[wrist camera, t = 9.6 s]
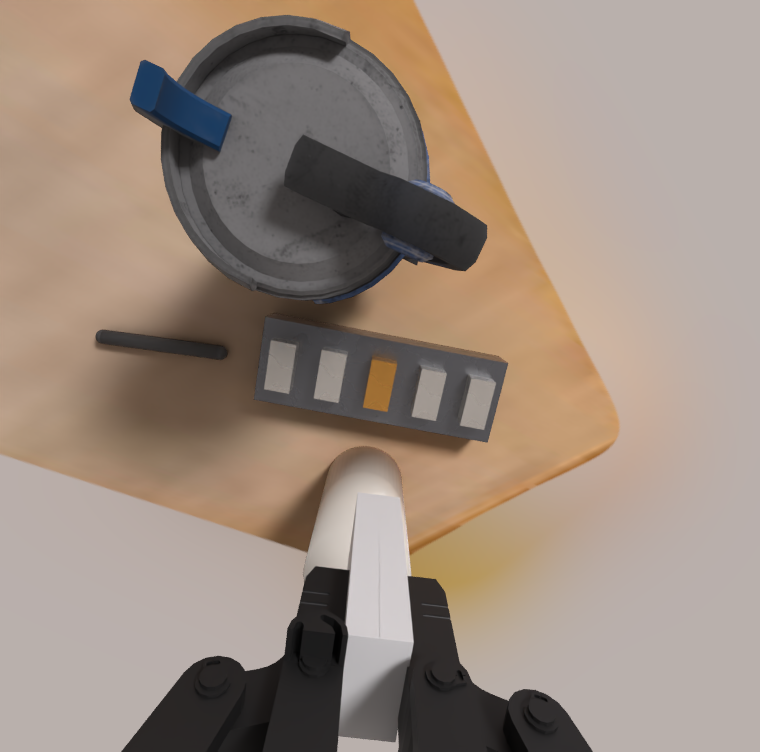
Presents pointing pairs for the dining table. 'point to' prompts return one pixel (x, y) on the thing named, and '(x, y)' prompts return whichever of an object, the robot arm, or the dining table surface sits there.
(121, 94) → the dining table surface
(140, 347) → the dark gray rod
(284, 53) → the beverage bottle
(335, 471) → the white glossy cylinder
